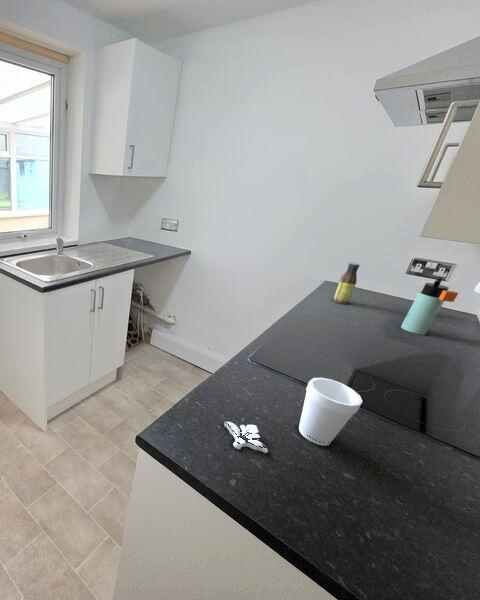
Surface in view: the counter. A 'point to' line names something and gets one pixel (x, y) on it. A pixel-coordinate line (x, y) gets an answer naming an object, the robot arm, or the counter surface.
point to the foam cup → (327, 409)
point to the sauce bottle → (346, 284)
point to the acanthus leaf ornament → (246, 429)
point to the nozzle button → (448, 296)
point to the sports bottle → (424, 308)
